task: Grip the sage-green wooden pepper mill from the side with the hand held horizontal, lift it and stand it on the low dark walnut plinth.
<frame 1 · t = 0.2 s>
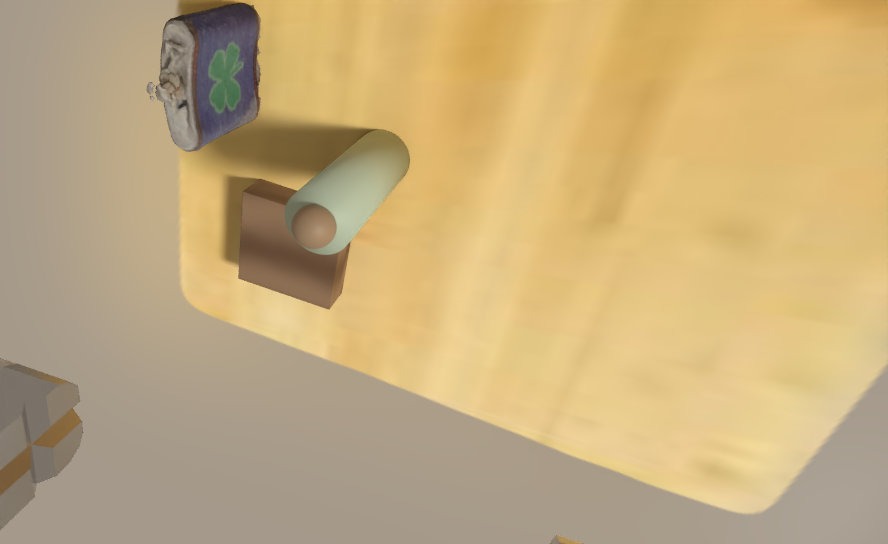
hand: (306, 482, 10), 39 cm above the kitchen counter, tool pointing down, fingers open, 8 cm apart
plinth: (302, 238, 54), on the kitchen counter
pepper mill: (382, 157, 49), on the kitchen counter
flask: (246, 62, 48), on the kitchen counter
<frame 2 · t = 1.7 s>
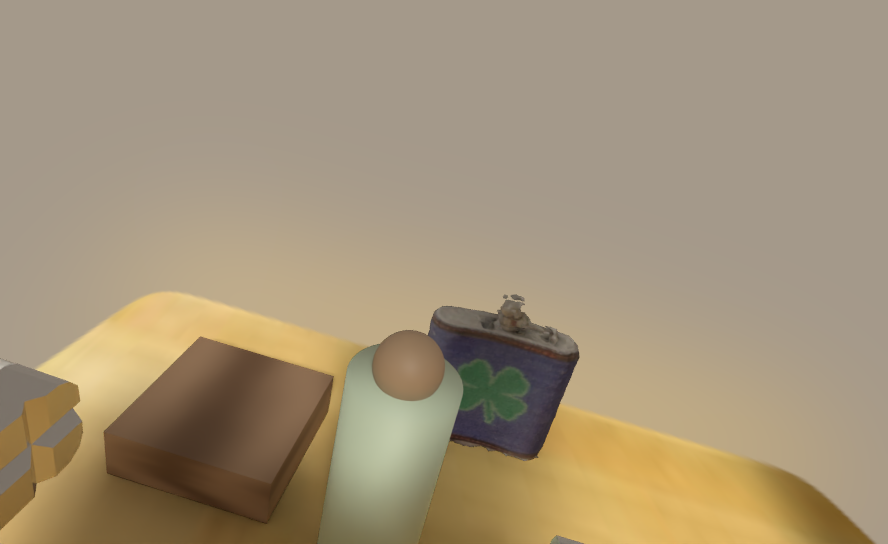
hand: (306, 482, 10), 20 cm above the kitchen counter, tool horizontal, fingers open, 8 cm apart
plinth: (229, 439, 35), on the kitchen counter
flask: (472, 436, 40), on the kitchen counter
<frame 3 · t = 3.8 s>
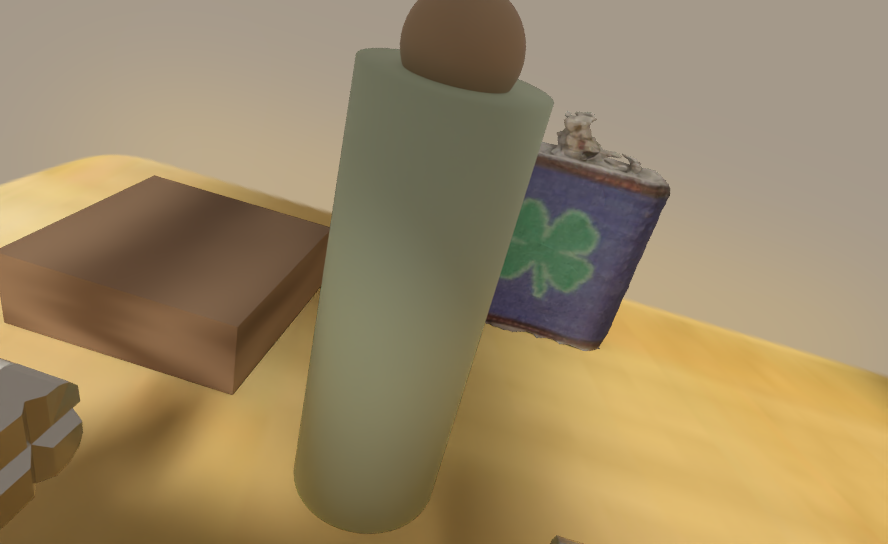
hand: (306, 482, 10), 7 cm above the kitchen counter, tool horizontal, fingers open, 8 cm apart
plinth: (187, 299, 26), on the kitchen counter
pepper mill: (364, 472, 20), on the kitchen counter
flask: (514, 322, 31), on the kitchen counter
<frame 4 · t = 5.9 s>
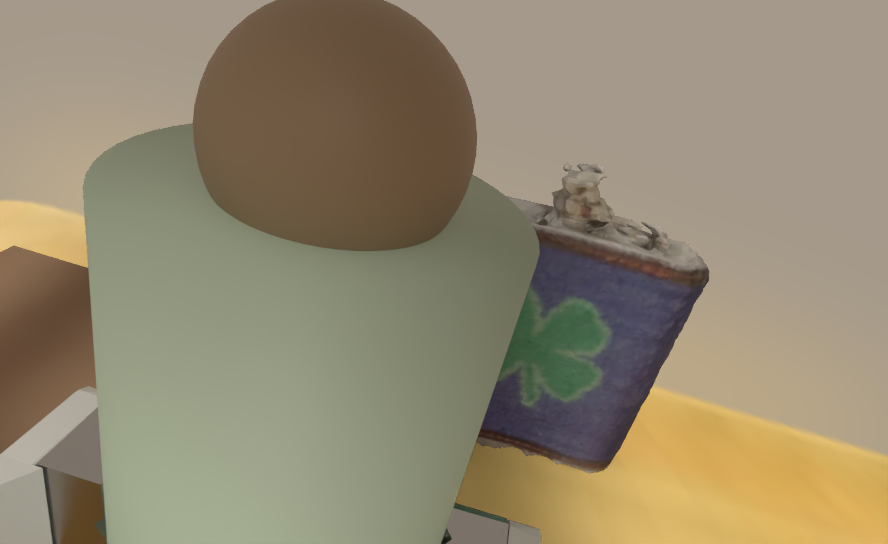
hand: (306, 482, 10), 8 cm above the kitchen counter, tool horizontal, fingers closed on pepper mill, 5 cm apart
plinth: (38, 428, 18), on the kitchen counter
flask: (497, 429, 23), on the kitchen counter
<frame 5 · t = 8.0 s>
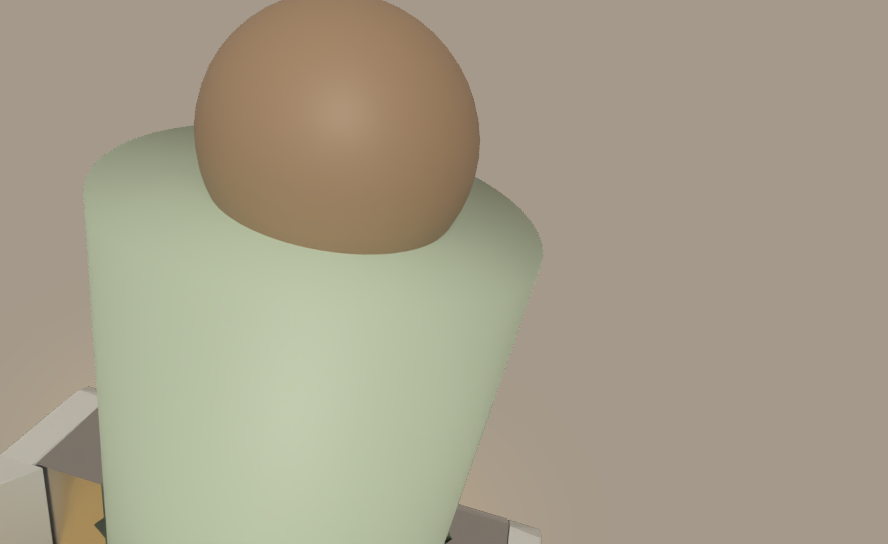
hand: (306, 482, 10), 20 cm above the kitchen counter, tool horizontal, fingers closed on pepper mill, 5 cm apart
when the fingers open (12 cm above the kitchen counter, at t = 10.2 s): pepper mill drops 1 cm, resting on plinth.
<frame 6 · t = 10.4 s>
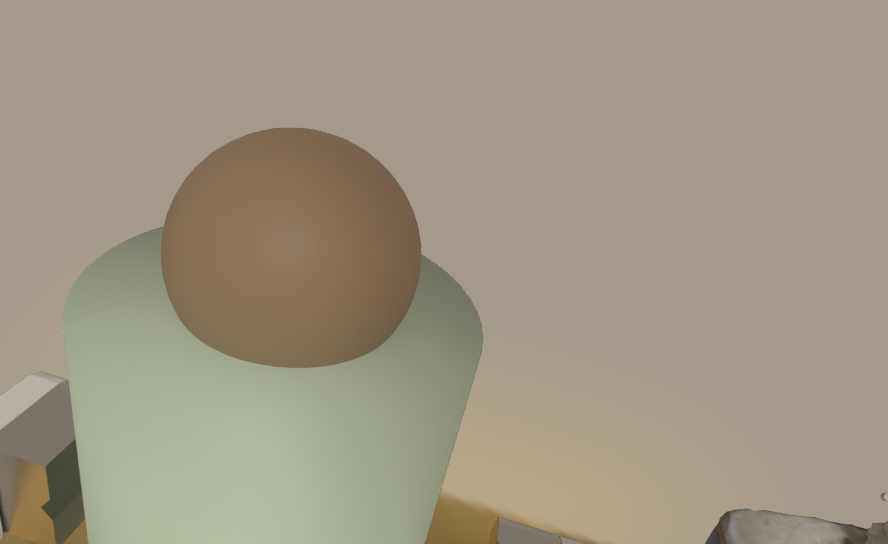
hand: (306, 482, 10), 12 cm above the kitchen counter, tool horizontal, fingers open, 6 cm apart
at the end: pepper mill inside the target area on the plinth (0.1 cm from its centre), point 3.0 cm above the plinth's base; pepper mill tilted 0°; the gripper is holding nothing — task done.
